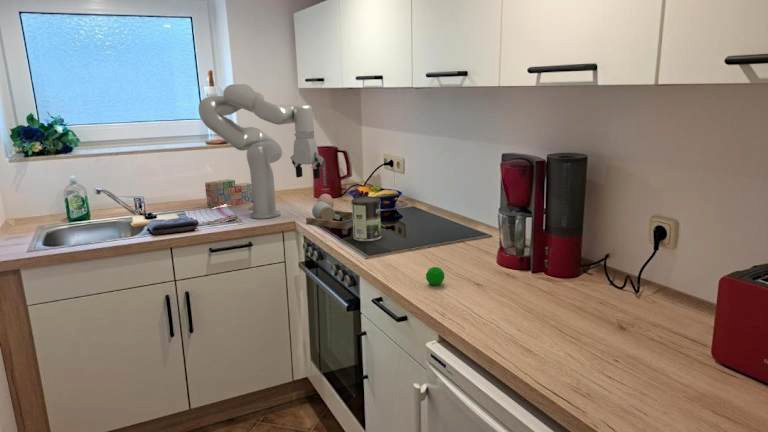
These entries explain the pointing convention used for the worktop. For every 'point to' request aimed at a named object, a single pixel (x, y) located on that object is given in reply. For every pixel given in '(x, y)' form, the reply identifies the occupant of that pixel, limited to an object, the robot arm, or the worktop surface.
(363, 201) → the coffee can
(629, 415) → the worktop surface
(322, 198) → the egg
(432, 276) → the green ball
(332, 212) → the light bulb
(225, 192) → the stack of blocks
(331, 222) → the brown flat slab
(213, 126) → the robot arm
